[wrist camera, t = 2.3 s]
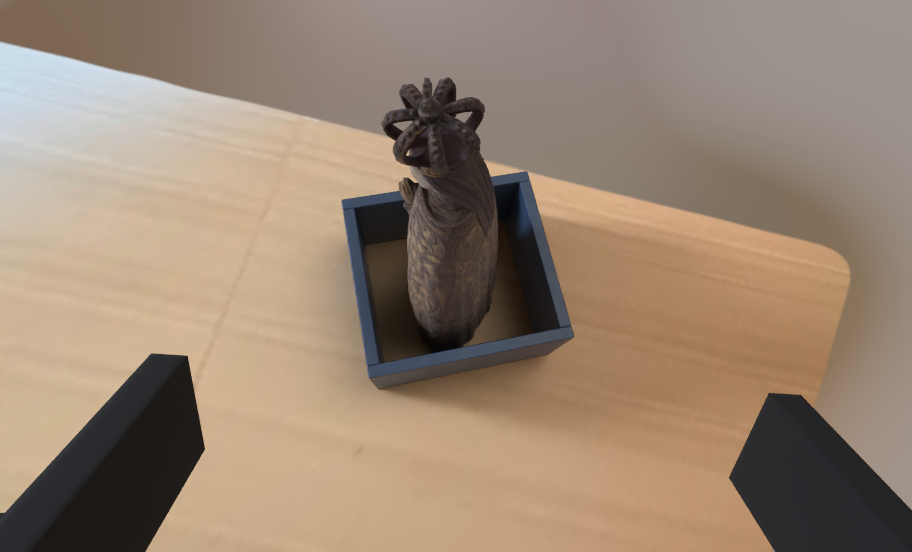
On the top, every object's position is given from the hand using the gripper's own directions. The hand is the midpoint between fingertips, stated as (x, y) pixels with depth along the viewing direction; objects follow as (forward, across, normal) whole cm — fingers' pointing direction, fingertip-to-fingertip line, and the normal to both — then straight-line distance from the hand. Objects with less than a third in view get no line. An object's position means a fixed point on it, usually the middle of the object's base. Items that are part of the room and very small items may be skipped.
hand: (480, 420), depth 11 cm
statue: (+26, 0, -11) cm, 29 cm away
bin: (+26, 0, -11) cm, 29 cm away
